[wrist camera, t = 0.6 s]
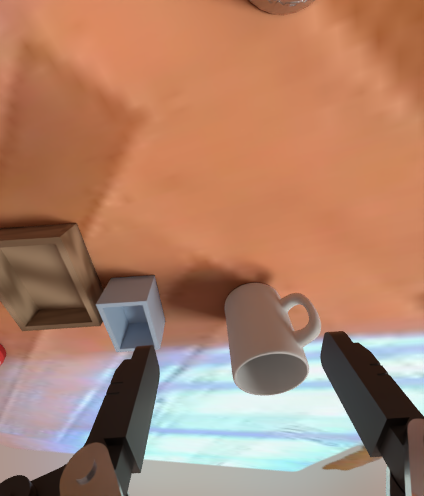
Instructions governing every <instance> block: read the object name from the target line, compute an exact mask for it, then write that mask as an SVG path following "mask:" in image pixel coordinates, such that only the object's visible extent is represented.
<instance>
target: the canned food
mask: <svg viewBox="0 0 424 496" xmlns="http://www.w3.org/2000/svg"><path fill="white" fill-rule="evenodd" d="M5 357H6V351H5V349H4V347H3V346H2V345H1V344H0V365H1V364H2V363H3V361H4V359H5Z"/></svg>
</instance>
